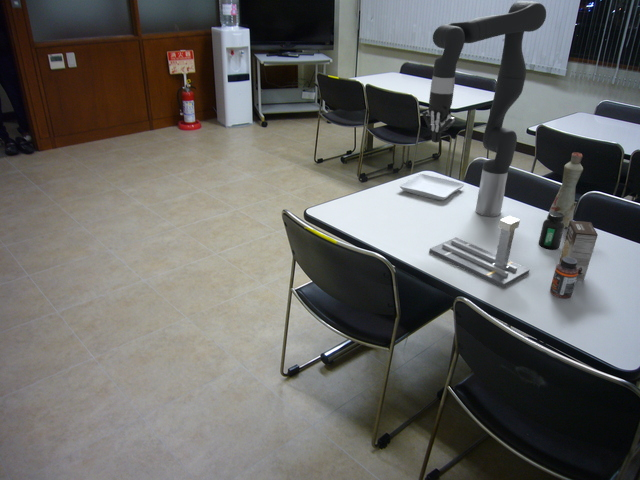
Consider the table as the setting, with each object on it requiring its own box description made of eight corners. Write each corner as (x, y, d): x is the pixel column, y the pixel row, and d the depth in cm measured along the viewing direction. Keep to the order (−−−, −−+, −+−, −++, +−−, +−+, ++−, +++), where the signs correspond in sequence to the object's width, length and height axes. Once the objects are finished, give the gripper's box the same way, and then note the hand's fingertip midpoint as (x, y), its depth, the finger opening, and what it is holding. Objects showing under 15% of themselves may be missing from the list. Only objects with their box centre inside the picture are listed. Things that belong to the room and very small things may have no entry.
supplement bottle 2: (545, 288, 156) (554, 254, 151) (565, 287, 156) (574, 254, 151) (555, 299, 150) (564, 265, 145) (575, 298, 151) (585, 264, 146)
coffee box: (557, 264, 169) (568, 219, 162) (578, 267, 168) (591, 221, 160) (562, 279, 161) (575, 232, 153) (585, 281, 160) (599, 234, 152)
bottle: (564, 231, 191) (584, 157, 179) (541, 223, 197) (558, 151, 185) (575, 225, 197) (595, 153, 184) (552, 217, 203) (570, 147, 190)
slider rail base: (455, 241, 182) (456, 234, 181) (528, 273, 163) (530, 266, 162) (429, 252, 174) (430, 245, 173) (503, 288, 155) (504, 280, 154)
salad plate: (420, 179, 238) (420, 172, 236) (464, 190, 227) (465, 183, 226) (397, 193, 223) (398, 185, 221) (444, 205, 212) (445, 197, 210)
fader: (499, 263, 165) (508, 215, 158) (510, 268, 163) (520, 220, 155) (489, 268, 162) (499, 219, 155) (501, 273, 160) (511, 224, 152)
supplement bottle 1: (548, 252, 177) (556, 219, 171) (533, 243, 182) (541, 211, 177) (563, 248, 179) (572, 216, 174) (548, 240, 185) (556, 208, 179)
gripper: (465, 92, 171) (457, 144, 179) (433, 86, 180) (427, 135, 188) (451, 95, 166) (444, 148, 174) (419, 88, 175) (413, 139, 183)
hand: (435, 141), depth 181 cm, fingers closed
